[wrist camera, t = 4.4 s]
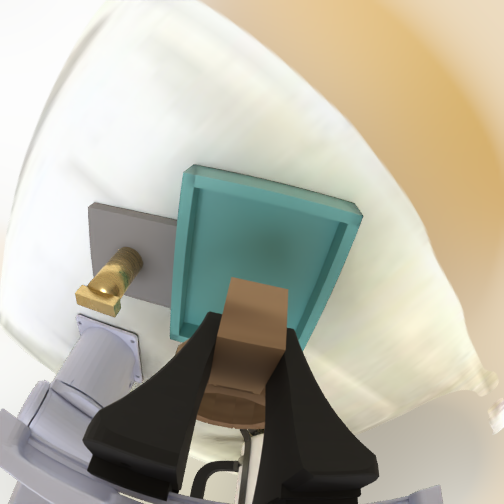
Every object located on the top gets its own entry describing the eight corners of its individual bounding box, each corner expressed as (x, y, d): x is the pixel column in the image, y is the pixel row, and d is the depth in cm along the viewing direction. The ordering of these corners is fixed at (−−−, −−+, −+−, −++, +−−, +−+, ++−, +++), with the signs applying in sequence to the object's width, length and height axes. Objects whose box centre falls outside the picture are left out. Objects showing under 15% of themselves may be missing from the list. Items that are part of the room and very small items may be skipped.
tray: (294, 346, 27) (295, 365, 25) (177, 321, 26) (169, 338, 24) (354, 203, 19) (363, 215, 17) (193, 164, 19) (183, 172, 17)
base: (175, 301, 25) (171, 308, 24) (99, 279, 25) (94, 285, 24) (182, 221, 21) (178, 226, 20) (94, 202, 21) (88, 207, 20)
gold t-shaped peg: (146, 277, 23) (116, 325, 18) (113, 267, 23) (79, 311, 17) (146, 251, 22) (112, 297, 16) (112, 242, 21) (73, 284, 16)
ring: (275, 396, 19) (271, 434, 16) (179, 377, 19) (168, 413, 16) (339, 299, 12) (345, 359, 10) (177, 264, 12) (152, 319, 9)
